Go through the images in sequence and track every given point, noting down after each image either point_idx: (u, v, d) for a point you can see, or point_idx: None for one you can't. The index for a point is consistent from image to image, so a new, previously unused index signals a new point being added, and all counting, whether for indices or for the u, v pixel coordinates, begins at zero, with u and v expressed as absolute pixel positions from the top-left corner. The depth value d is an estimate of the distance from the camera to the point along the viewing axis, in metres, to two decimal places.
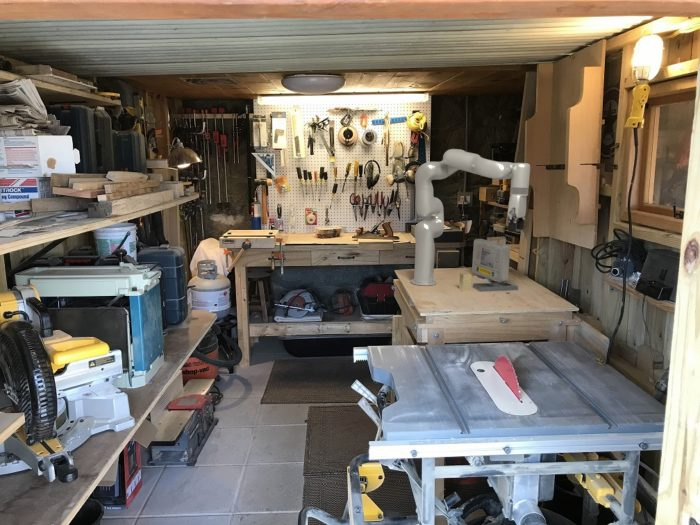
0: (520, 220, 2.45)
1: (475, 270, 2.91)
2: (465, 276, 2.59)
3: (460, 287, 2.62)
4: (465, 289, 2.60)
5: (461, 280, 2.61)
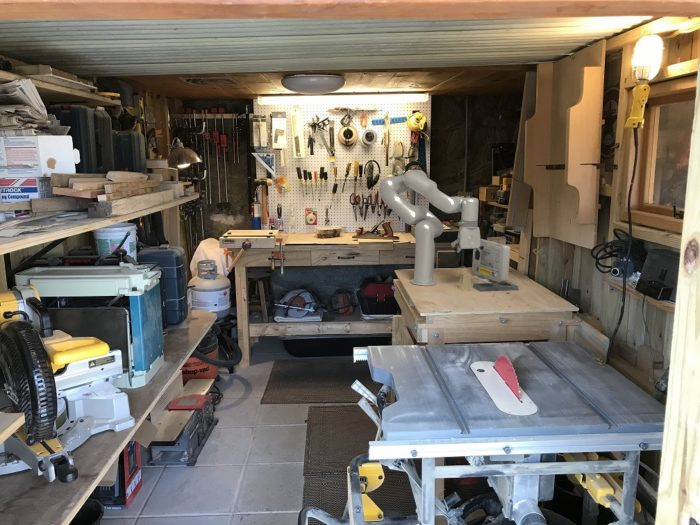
0: None
1: (475, 270, 2.91)
2: (465, 276, 2.59)
3: (460, 287, 2.62)
4: (465, 289, 2.60)
5: (461, 280, 2.61)
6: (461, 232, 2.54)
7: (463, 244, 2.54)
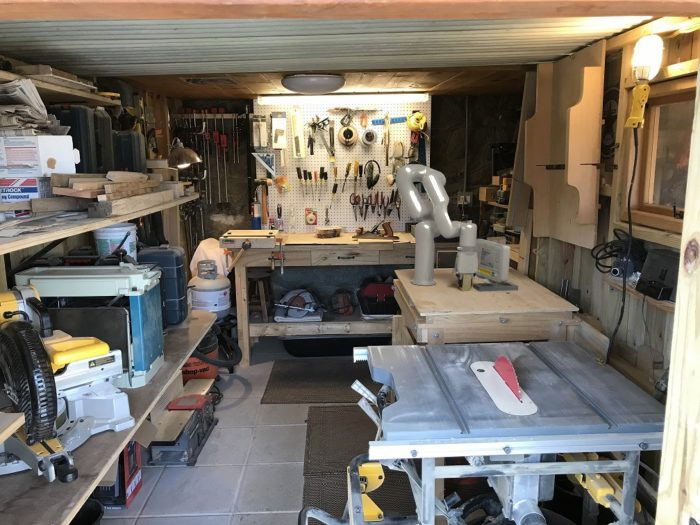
0: (461, 277, 2.61)
1: None
2: (465, 276, 2.59)
3: None
4: (465, 289, 2.60)
5: None
6: (459, 257, 2.56)
7: (461, 269, 2.57)
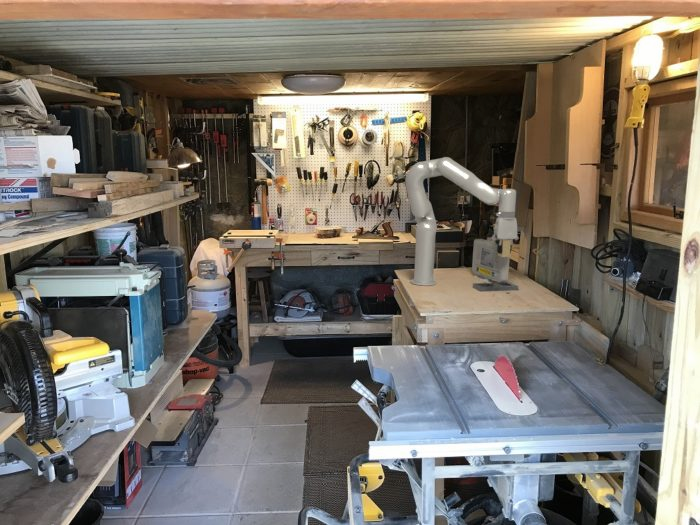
0: None
1: (475, 270, 2.91)
2: (505, 242, 2.60)
3: (499, 253, 2.63)
4: (505, 255, 2.61)
5: None
6: (498, 223, 2.57)
7: (500, 235, 2.58)
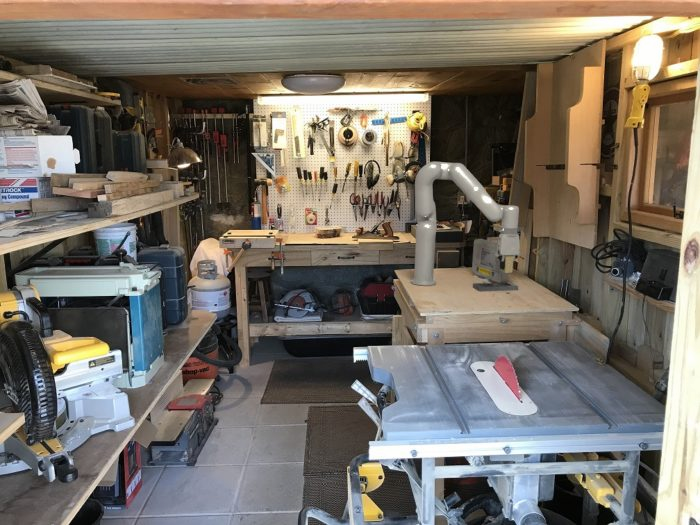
0: None
1: (475, 270, 2.91)
2: (507, 258, 2.62)
3: (502, 269, 2.65)
4: (507, 271, 2.63)
5: None
6: (501, 239, 2.59)
7: (503, 251, 2.60)
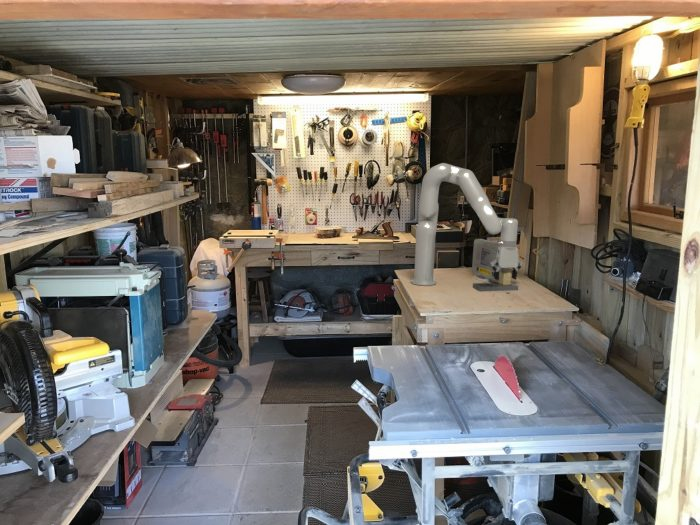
0: None
1: (475, 270, 2.91)
2: (505, 275, 2.63)
3: None
4: None
5: (501, 279, 2.65)
6: (500, 252, 2.61)
7: (502, 263, 2.61)
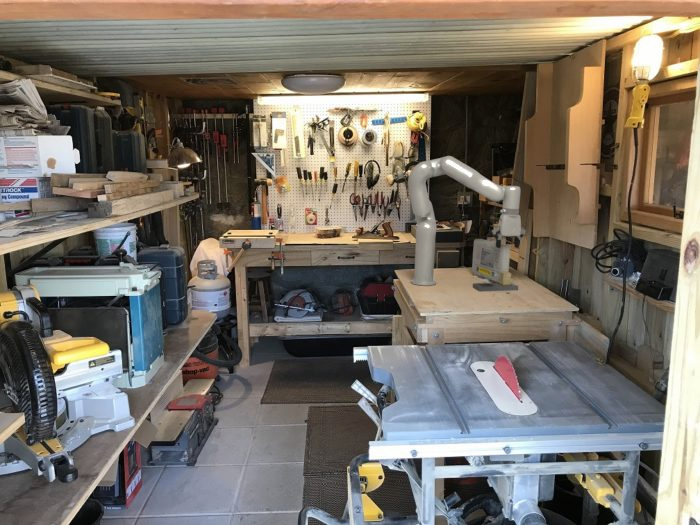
0: None
1: (475, 270, 2.91)
2: (505, 275, 2.63)
3: None
4: None
5: (501, 279, 2.65)
6: (502, 220, 2.58)
7: (504, 231, 2.58)
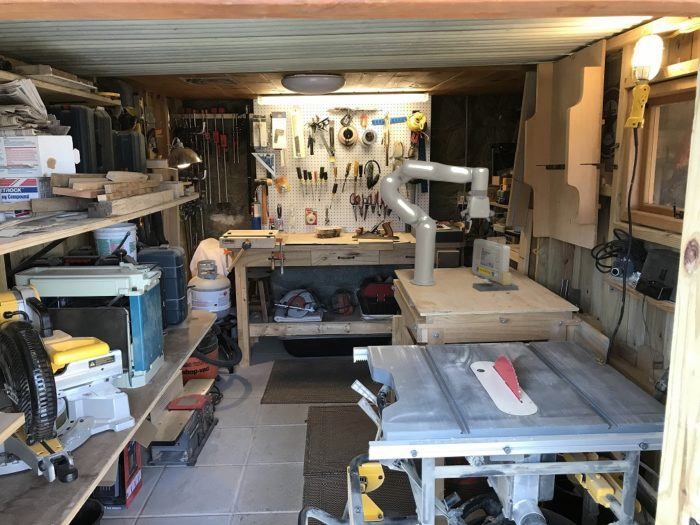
0: None
1: (475, 270, 2.91)
2: (505, 275, 2.63)
3: None
4: None
5: (501, 279, 2.65)
6: (471, 201, 2.59)
7: (473, 213, 2.59)
